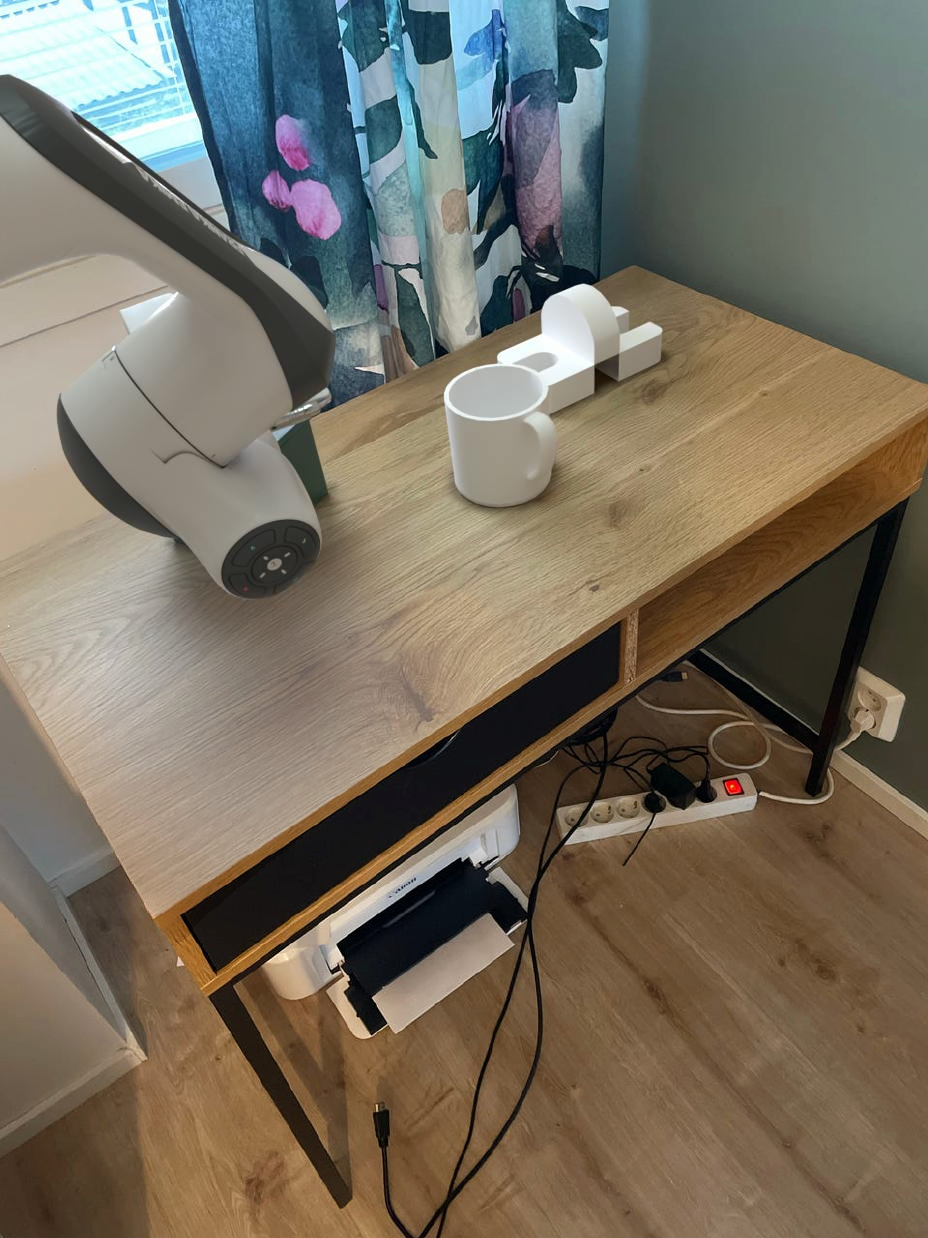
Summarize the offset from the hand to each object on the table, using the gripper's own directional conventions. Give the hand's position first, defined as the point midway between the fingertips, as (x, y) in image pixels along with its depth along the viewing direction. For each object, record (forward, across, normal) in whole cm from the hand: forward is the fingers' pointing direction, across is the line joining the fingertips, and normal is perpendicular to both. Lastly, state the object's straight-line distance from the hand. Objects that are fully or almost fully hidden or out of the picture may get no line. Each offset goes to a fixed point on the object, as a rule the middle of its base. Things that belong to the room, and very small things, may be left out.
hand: (173, 370), depth 78 cm
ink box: (-1, 0, +7) cm, 7 cm away
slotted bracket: (+6, -44, +19) cm, 48 cm away
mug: (-9, -27, +19) cm, 34 cm away
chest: (+1, -2, +18) cm, 19 cm away
